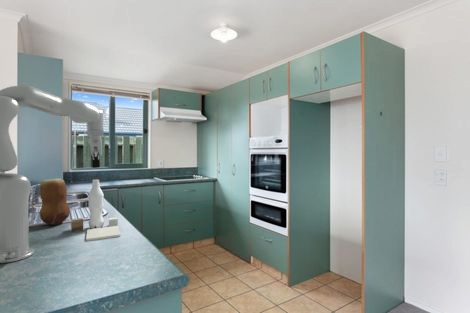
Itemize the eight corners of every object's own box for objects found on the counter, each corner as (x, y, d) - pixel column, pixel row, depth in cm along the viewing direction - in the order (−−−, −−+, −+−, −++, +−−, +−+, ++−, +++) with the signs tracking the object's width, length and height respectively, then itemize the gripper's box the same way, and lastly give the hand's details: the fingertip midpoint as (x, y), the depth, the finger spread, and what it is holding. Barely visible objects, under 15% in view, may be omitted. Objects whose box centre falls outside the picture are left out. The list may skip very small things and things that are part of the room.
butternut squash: (50, 221, 152) (49, 177, 152) (74, 220, 153) (73, 177, 153) (33, 228, 139) (32, 180, 138) (60, 227, 140) (59, 179, 139)
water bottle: (86, 230, 136) (86, 180, 135) (90, 226, 142) (89, 179, 142) (102, 229, 137) (101, 180, 137) (105, 225, 144) (104, 178, 144)
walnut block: (83, 230, 135) (82, 220, 135) (71, 232, 133) (71, 222, 133) (83, 228, 139) (83, 218, 139) (72, 229, 137) (72, 219, 137)
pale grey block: (117, 226, 143) (117, 218, 143) (109, 227, 141) (109, 219, 141) (117, 224, 146) (117, 217, 146) (109, 225, 144) (108, 218, 144)
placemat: (120, 236, 126) (120, 234, 126) (86, 241, 119) (86, 239, 119) (118, 227, 140) (117, 225, 140) (87, 231, 134) (87, 229, 134)
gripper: (103, 133, 133) (104, 167, 133) (103, 134, 148) (103, 165, 149) (86, 132, 129) (87, 168, 130) (87, 134, 145) (88, 166, 145)
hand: (96, 166), depth 139 cm, fingers open, 9 cm apart
